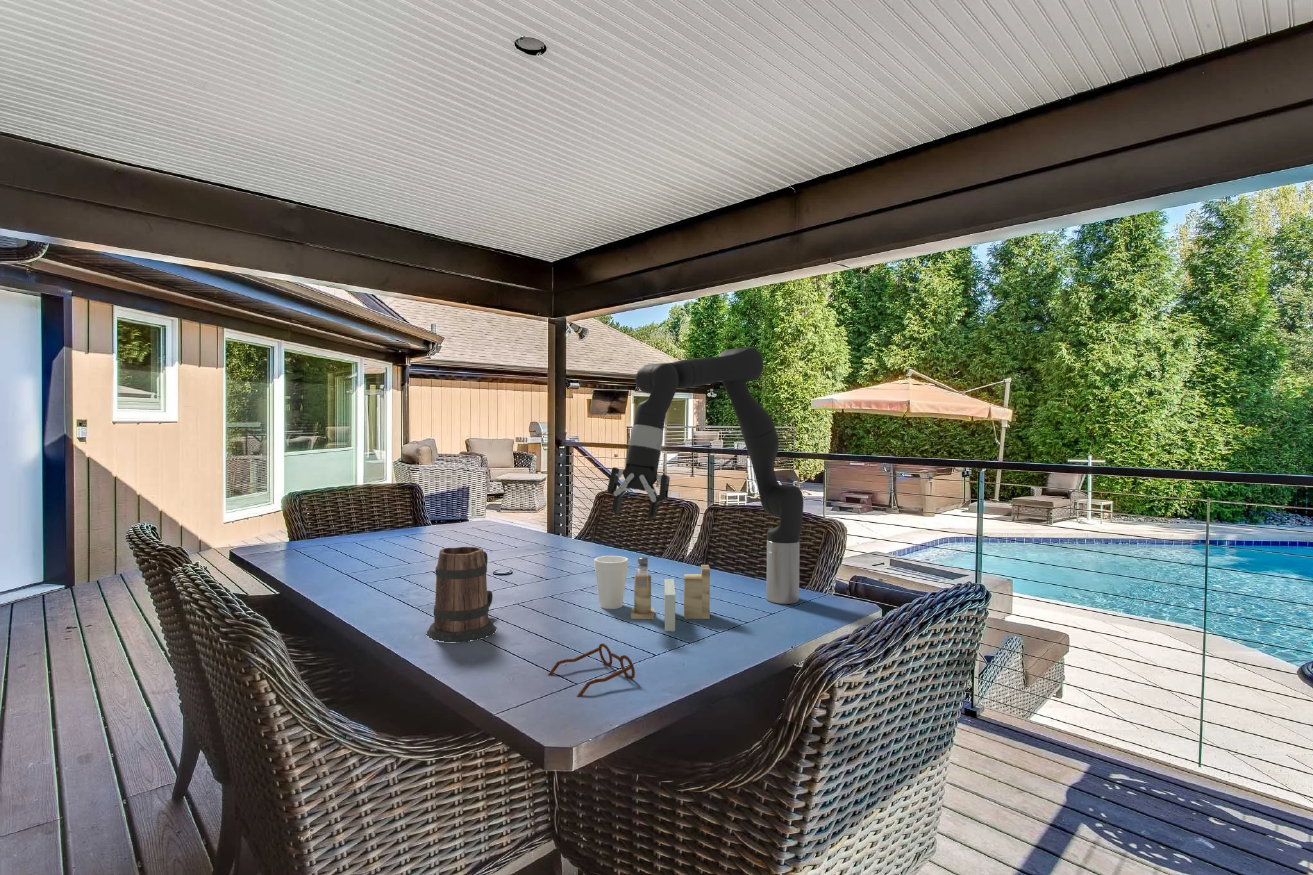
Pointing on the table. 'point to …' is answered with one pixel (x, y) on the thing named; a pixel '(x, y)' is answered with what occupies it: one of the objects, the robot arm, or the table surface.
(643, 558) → the bar
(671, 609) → the door edge
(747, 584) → the table surface
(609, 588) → the foam cup
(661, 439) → the robot arm
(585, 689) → the glasses
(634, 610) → the post
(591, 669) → the table surface
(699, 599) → the keeper
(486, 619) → the tankard
